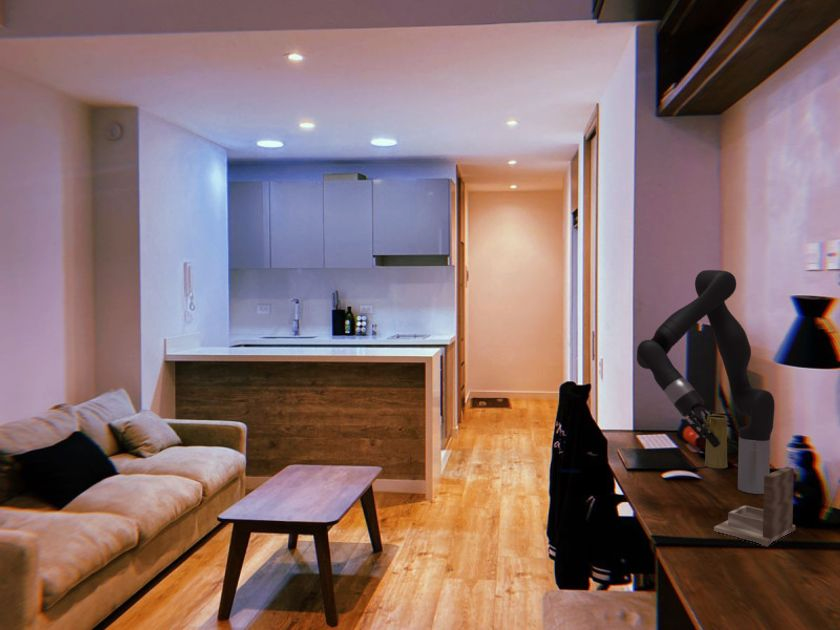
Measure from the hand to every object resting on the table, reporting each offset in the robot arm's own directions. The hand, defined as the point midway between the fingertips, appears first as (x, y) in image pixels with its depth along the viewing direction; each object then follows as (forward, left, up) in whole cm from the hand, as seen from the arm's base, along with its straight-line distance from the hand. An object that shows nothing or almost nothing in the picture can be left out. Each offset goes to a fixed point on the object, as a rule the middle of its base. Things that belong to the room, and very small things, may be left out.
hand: (722, 444), depth 199 cm
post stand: (+2, +10, -22) cm, 24 cm away
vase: (0, -2, -7) cm, 7 cm away
